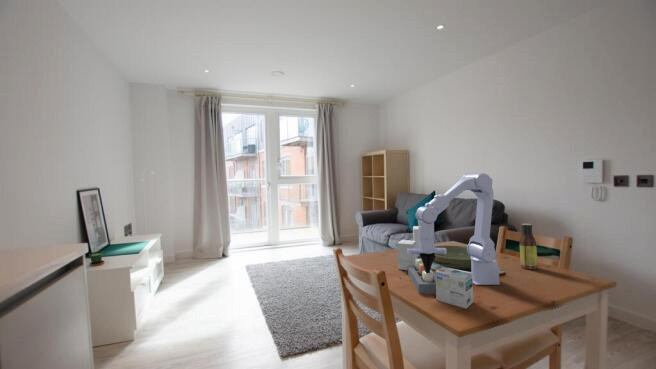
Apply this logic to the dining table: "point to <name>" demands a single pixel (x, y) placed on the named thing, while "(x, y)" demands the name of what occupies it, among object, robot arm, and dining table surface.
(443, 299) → the light bulb box
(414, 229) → the supplement box
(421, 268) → the plug rust
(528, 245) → the sauce bottle
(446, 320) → the dining table surface
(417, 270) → the plug sage
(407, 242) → the supplement box
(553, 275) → the dining table surface
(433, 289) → the socket board
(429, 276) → the plug cream
